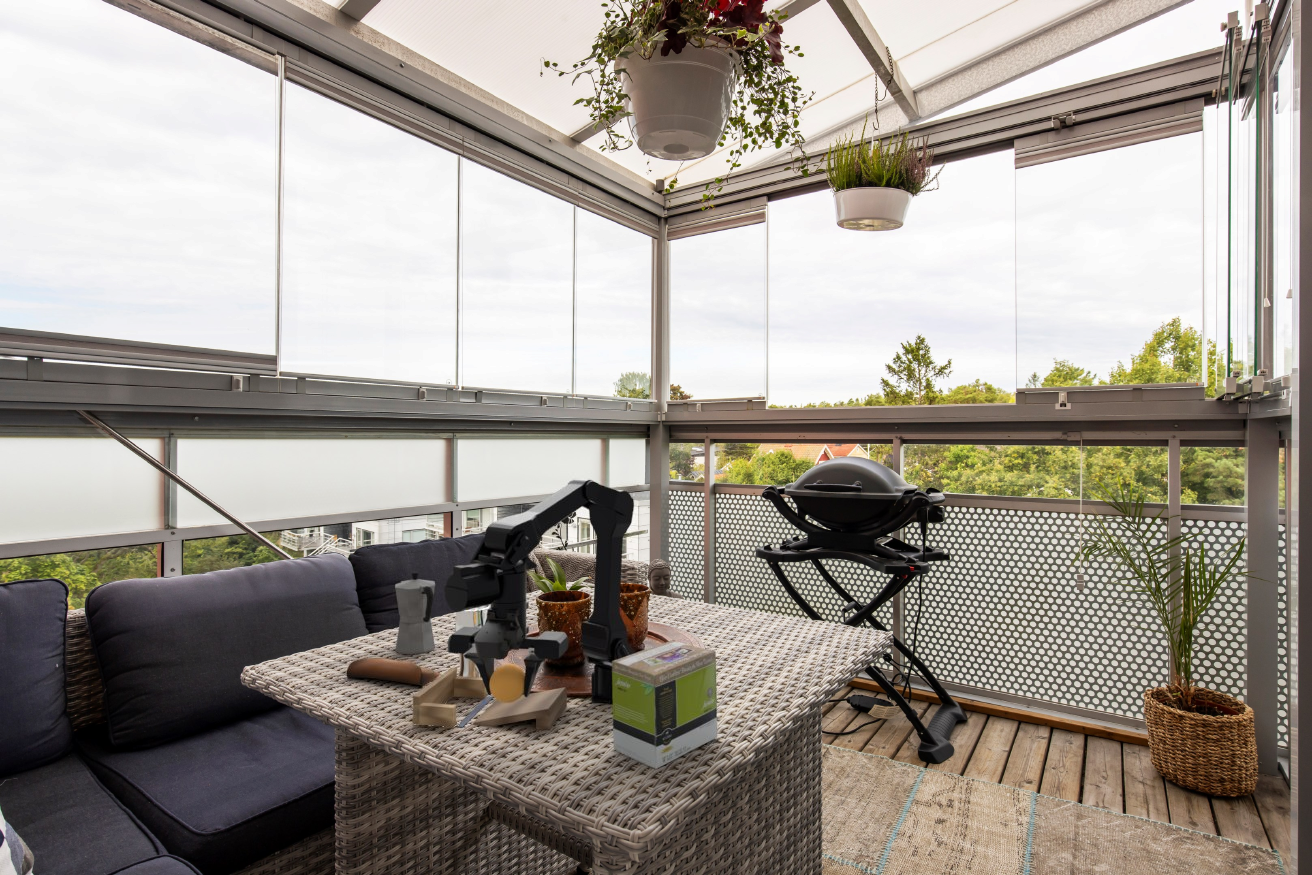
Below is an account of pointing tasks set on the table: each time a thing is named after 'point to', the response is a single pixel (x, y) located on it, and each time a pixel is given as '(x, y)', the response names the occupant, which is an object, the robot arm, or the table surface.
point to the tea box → (664, 702)
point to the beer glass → (470, 619)
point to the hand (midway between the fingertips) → (508, 694)
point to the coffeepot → (415, 615)
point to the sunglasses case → (391, 671)
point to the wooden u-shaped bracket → (447, 699)
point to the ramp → (527, 709)
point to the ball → (507, 683)
